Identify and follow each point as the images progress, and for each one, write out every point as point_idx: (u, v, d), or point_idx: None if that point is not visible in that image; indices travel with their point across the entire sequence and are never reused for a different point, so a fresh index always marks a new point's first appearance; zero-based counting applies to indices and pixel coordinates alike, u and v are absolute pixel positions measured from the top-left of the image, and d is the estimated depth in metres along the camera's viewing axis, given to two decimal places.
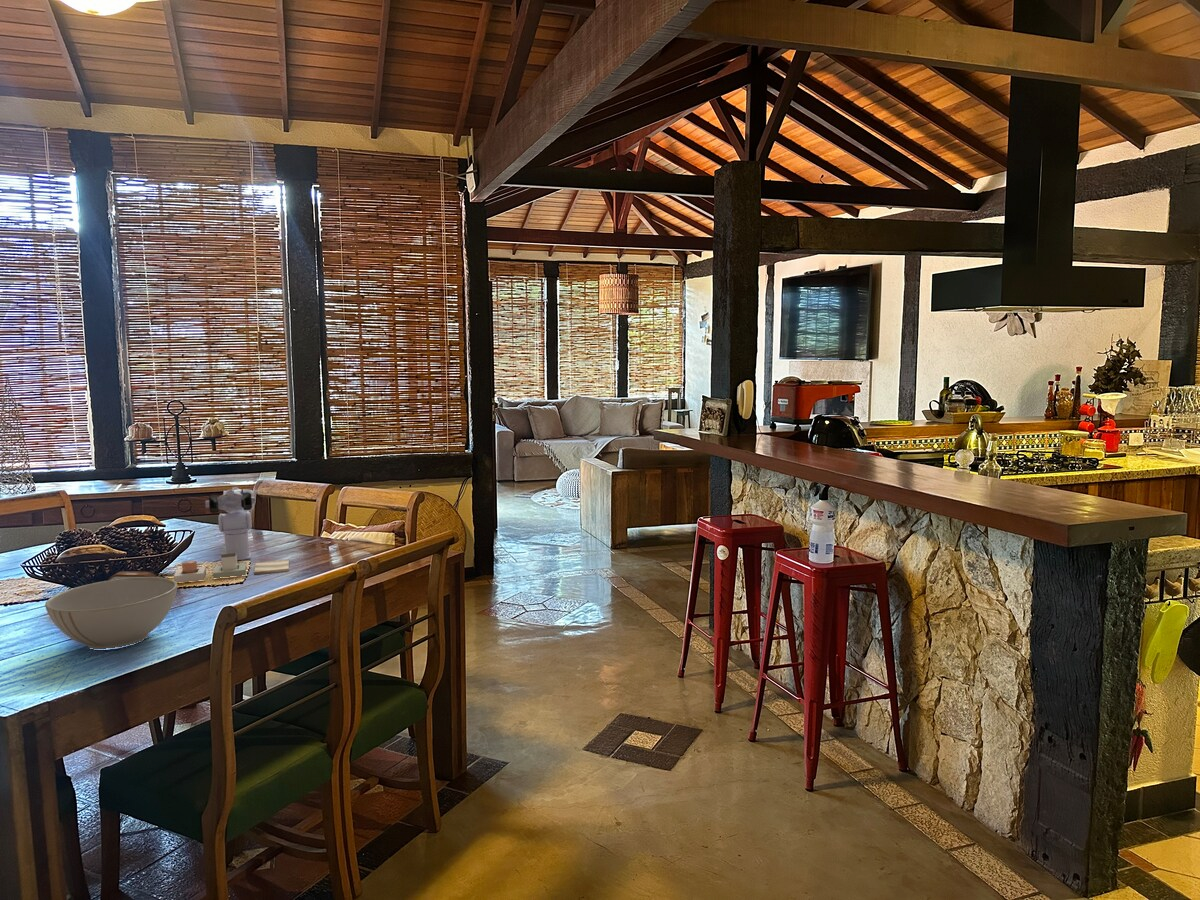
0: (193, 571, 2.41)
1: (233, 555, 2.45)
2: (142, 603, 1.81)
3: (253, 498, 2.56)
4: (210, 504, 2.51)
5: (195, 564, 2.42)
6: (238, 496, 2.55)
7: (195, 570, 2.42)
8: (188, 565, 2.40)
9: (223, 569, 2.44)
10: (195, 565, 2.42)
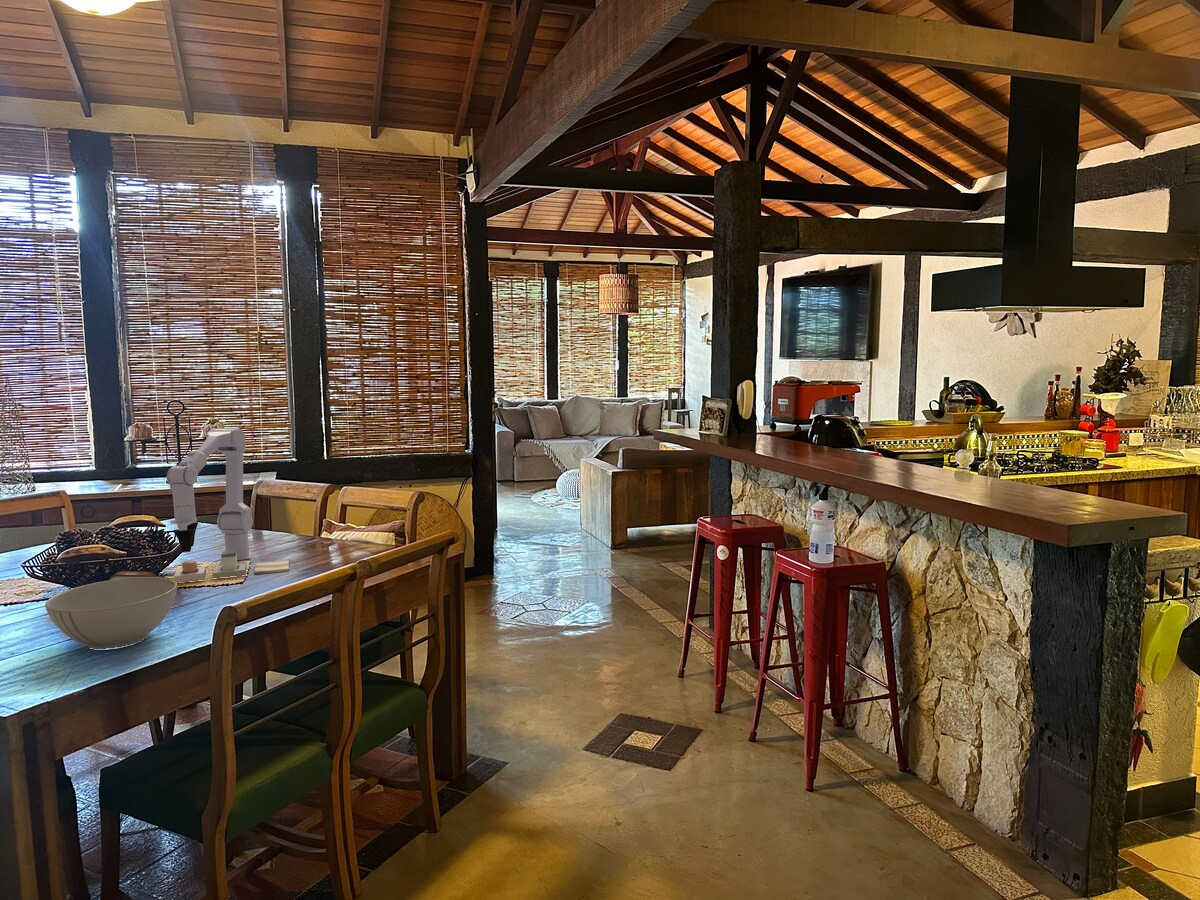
0: (193, 571, 2.41)
1: (233, 555, 2.45)
2: (142, 603, 1.81)
3: None
4: None
5: (195, 564, 2.42)
6: None
7: (195, 570, 2.42)
8: (188, 565, 2.40)
9: (223, 569, 2.44)
10: (195, 565, 2.42)
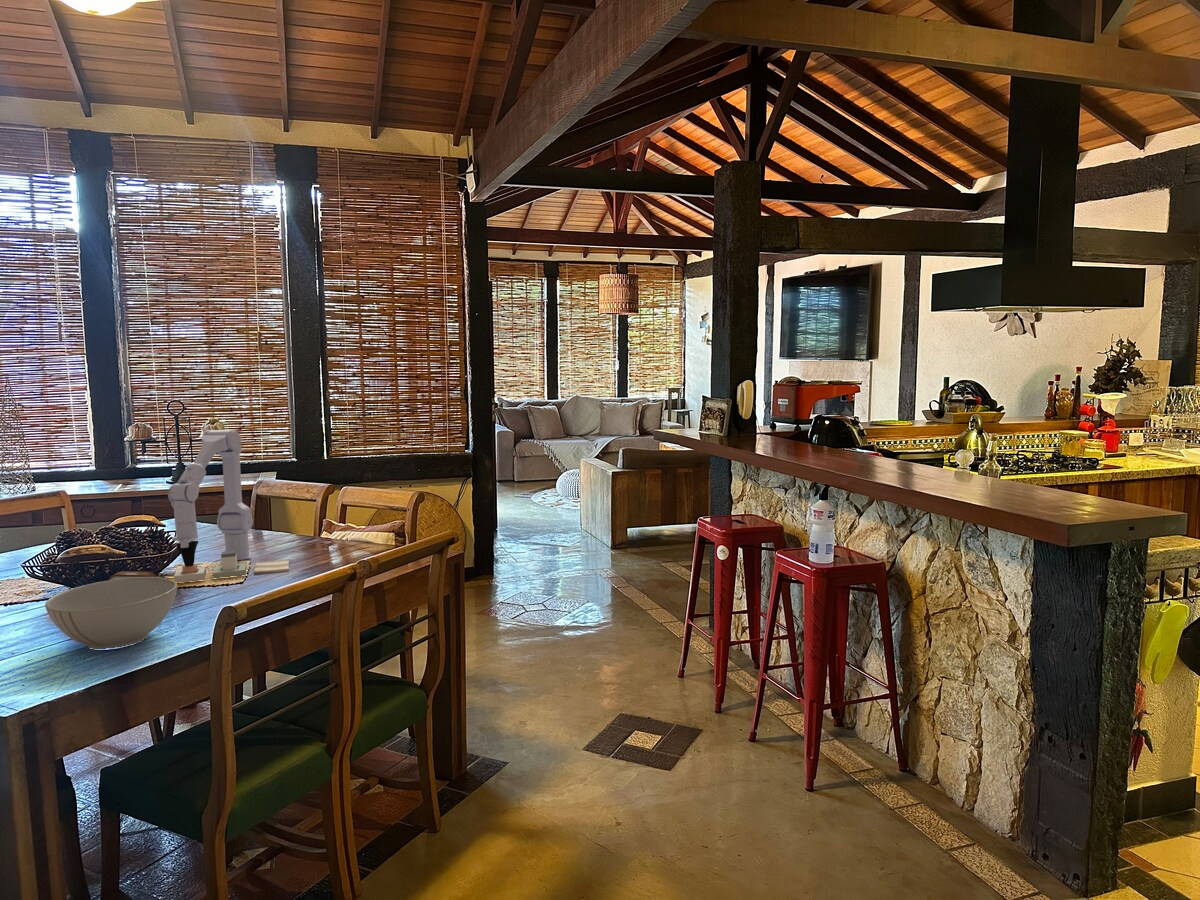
0: None
1: (233, 555, 2.45)
2: (142, 603, 1.81)
3: None
4: None
5: (195, 567, 2.42)
6: None
7: None
8: (188, 568, 2.40)
9: (223, 569, 2.44)
10: (195, 568, 2.42)
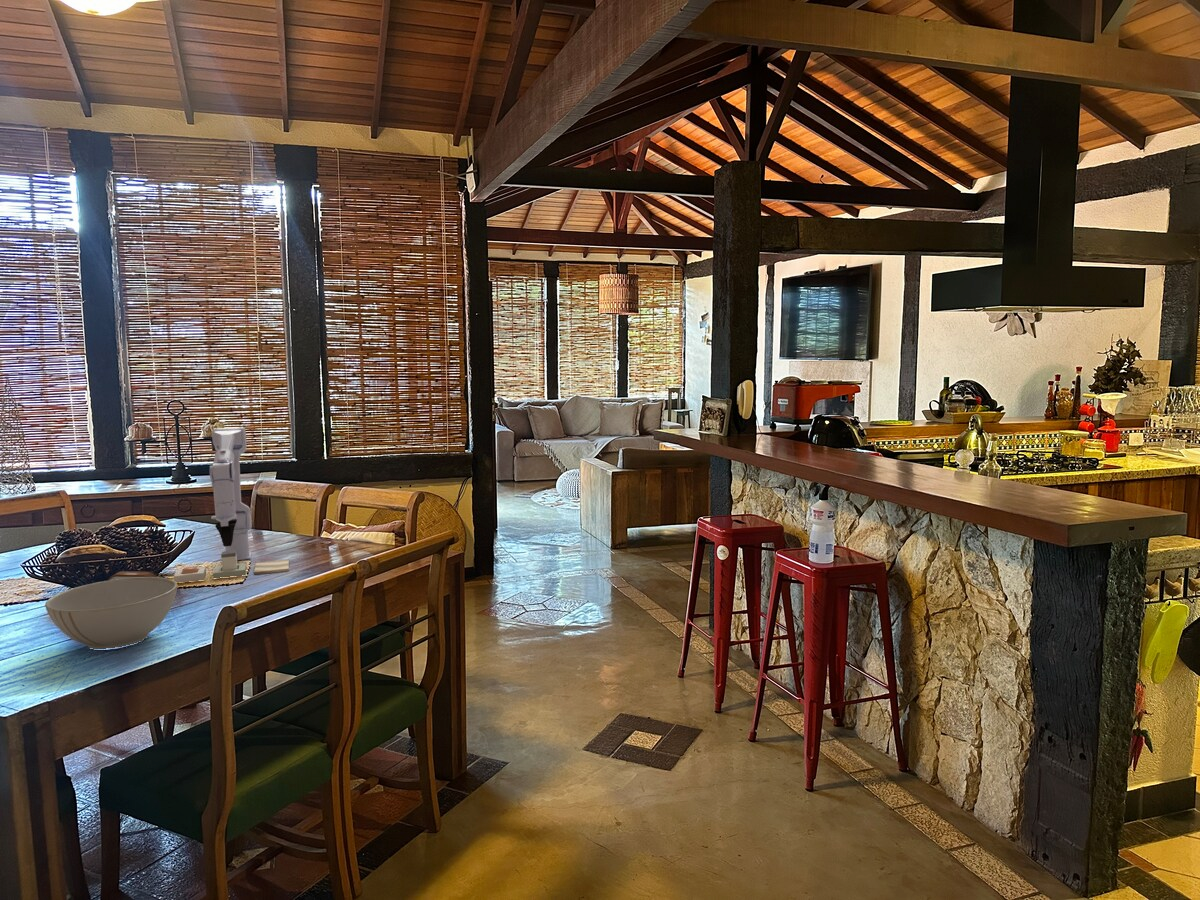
0: None
1: (233, 555, 2.45)
2: (142, 603, 1.81)
3: None
4: None
5: (196, 570, 2.42)
6: None
7: None
8: (189, 571, 2.40)
9: (223, 569, 2.44)
10: (196, 571, 2.42)
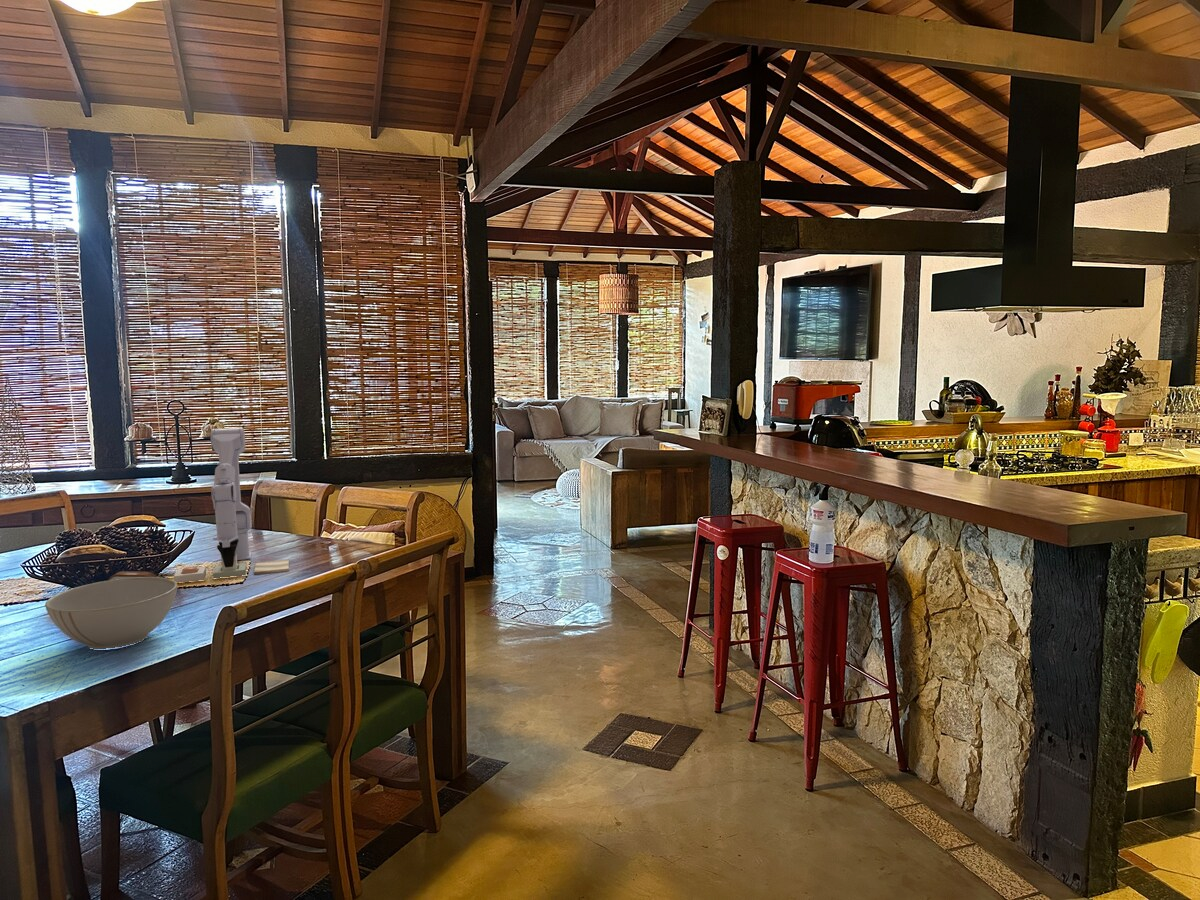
0: None
1: None
2: (142, 603, 1.81)
3: None
4: None
5: (196, 570, 2.42)
6: None
7: None
8: (189, 571, 2.40)
9: (223, 569, 2.44)
10: (196, 571, 2.42)
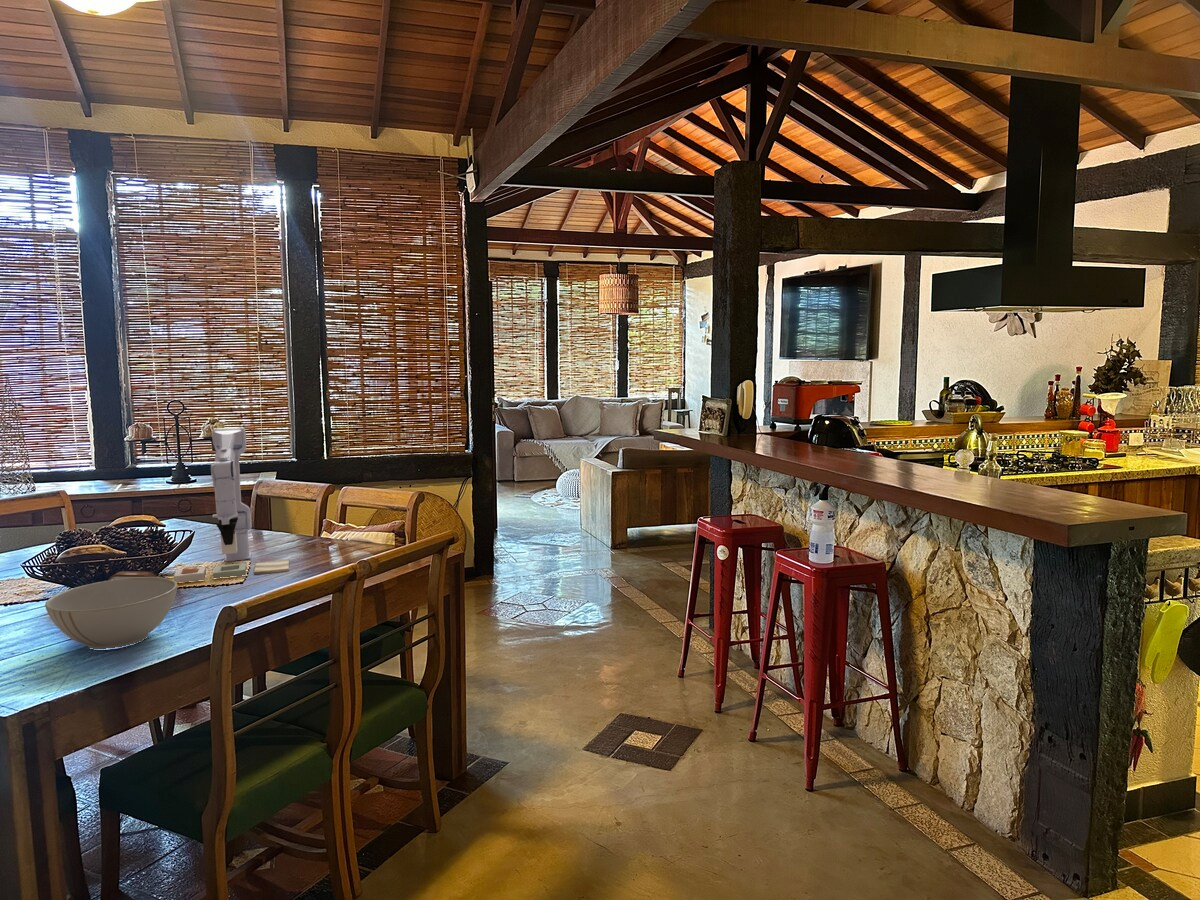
0: None
1: None
2: (142, 603, 1.81)
3: None
4: None
5: (196, 570, 2.42)
6: None
7: None
8: (189, 571, 2.40)
9: (222, 547, 2.44)
10: (196, 571, 2.42)
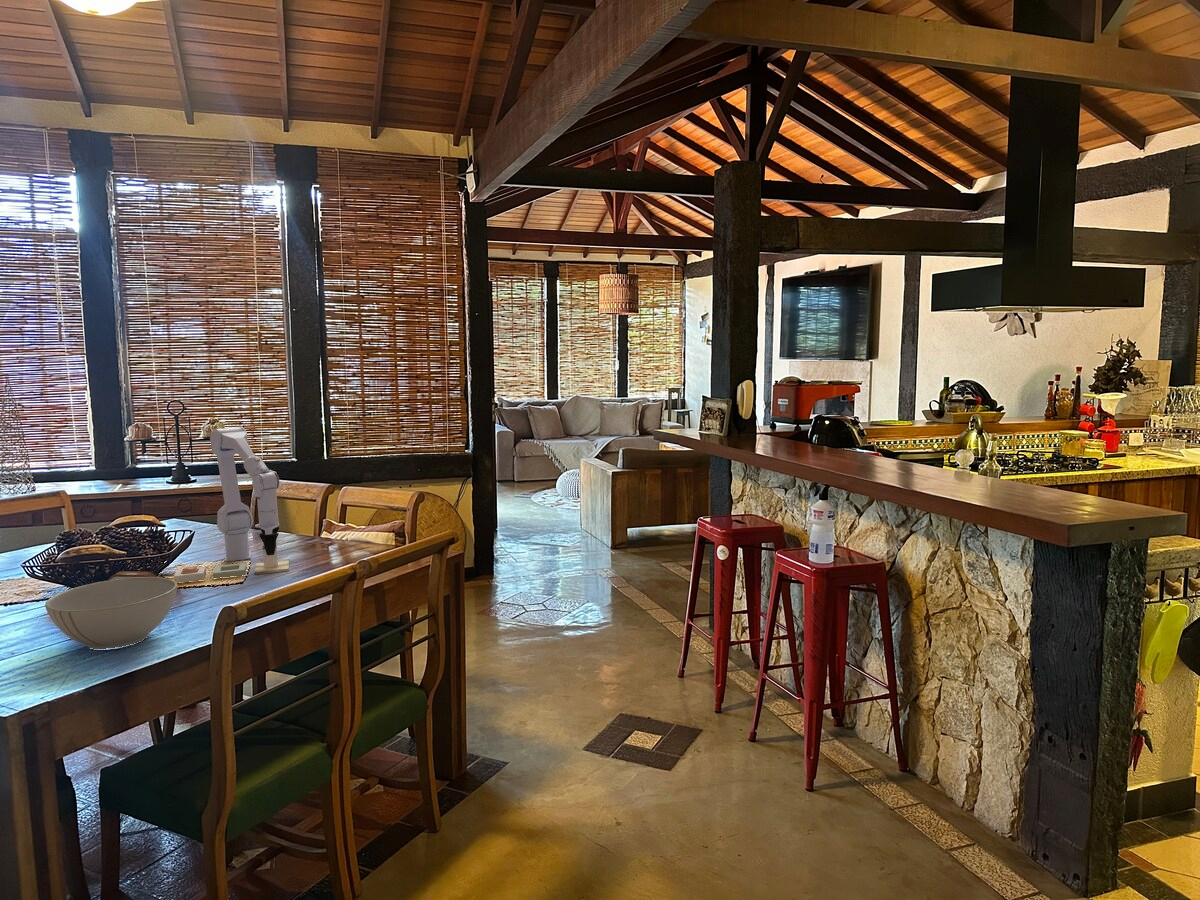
0: None
1: None
2: (142, 603, 1.81)
3: None
4: None
5: (196, 570, 2.42)
6: None
7: None
8: (189, 571, 2.40)
9: (264, 560, 2.50)
10: (196, 571, 2.42)
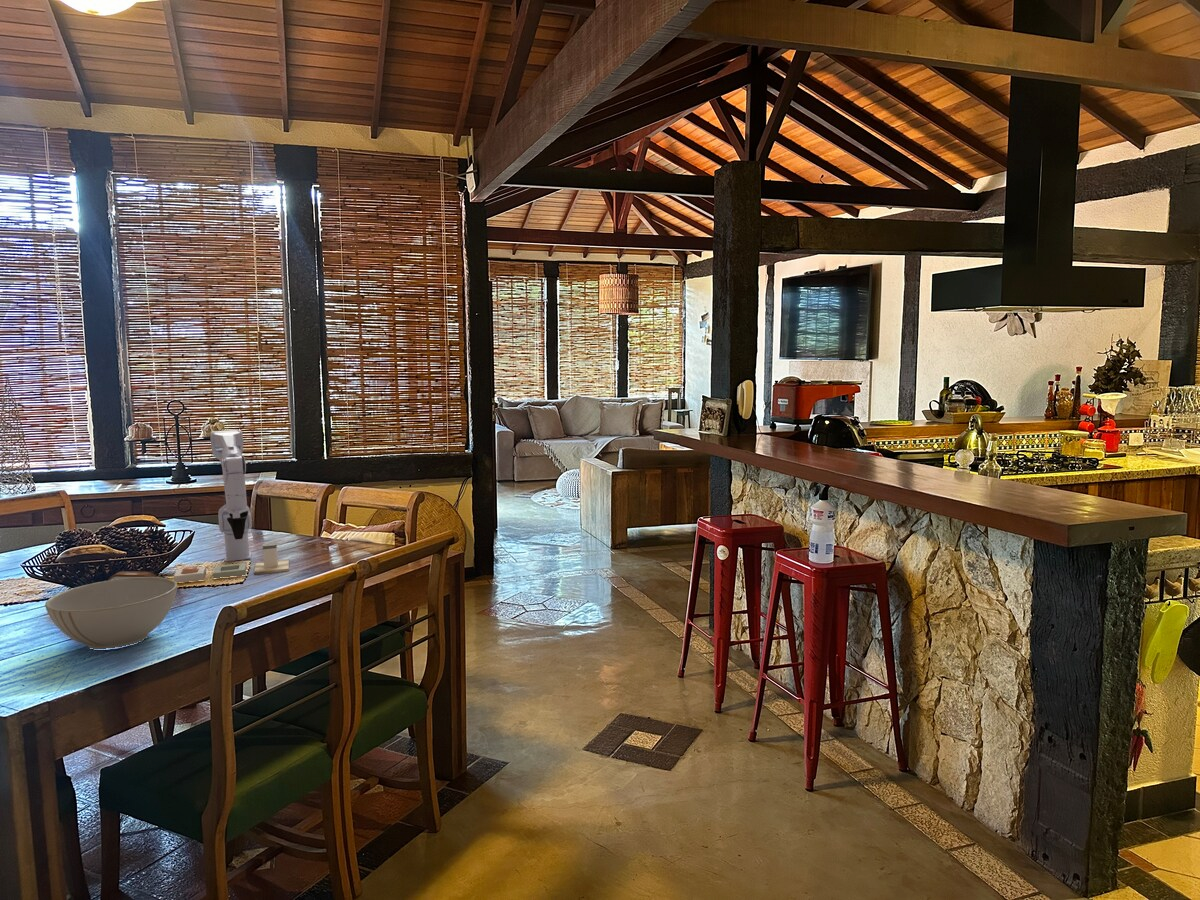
0: None
1: (274, 547, 2.51)
2: (142, 603, 1.81)
3: None
4: None
5: (196, 570, 2.42)
6: None
7: None
8: (189, 571, 2.40)
9: (264, 560, 2.50)
10: (196, 571, 2.42)
